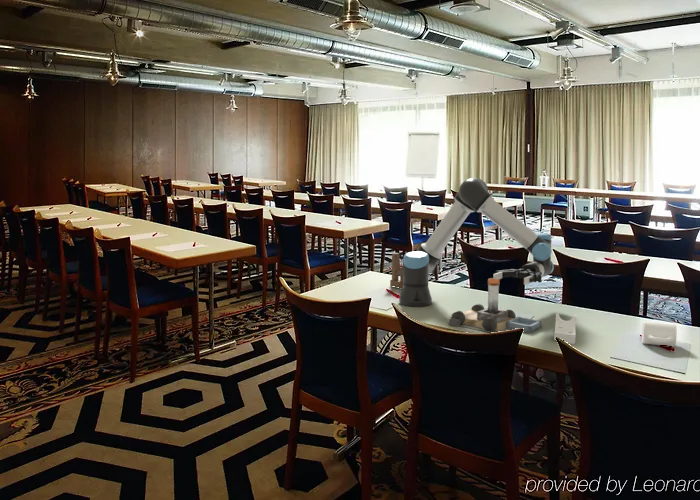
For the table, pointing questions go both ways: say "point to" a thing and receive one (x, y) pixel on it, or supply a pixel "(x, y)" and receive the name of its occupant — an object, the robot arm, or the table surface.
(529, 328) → the tray
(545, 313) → the table surface
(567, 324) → the bracket
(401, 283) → the tan notched upright
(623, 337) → the table surface
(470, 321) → the cart deck
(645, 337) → the white slotted housing
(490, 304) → the orange capped tube
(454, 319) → the chock
